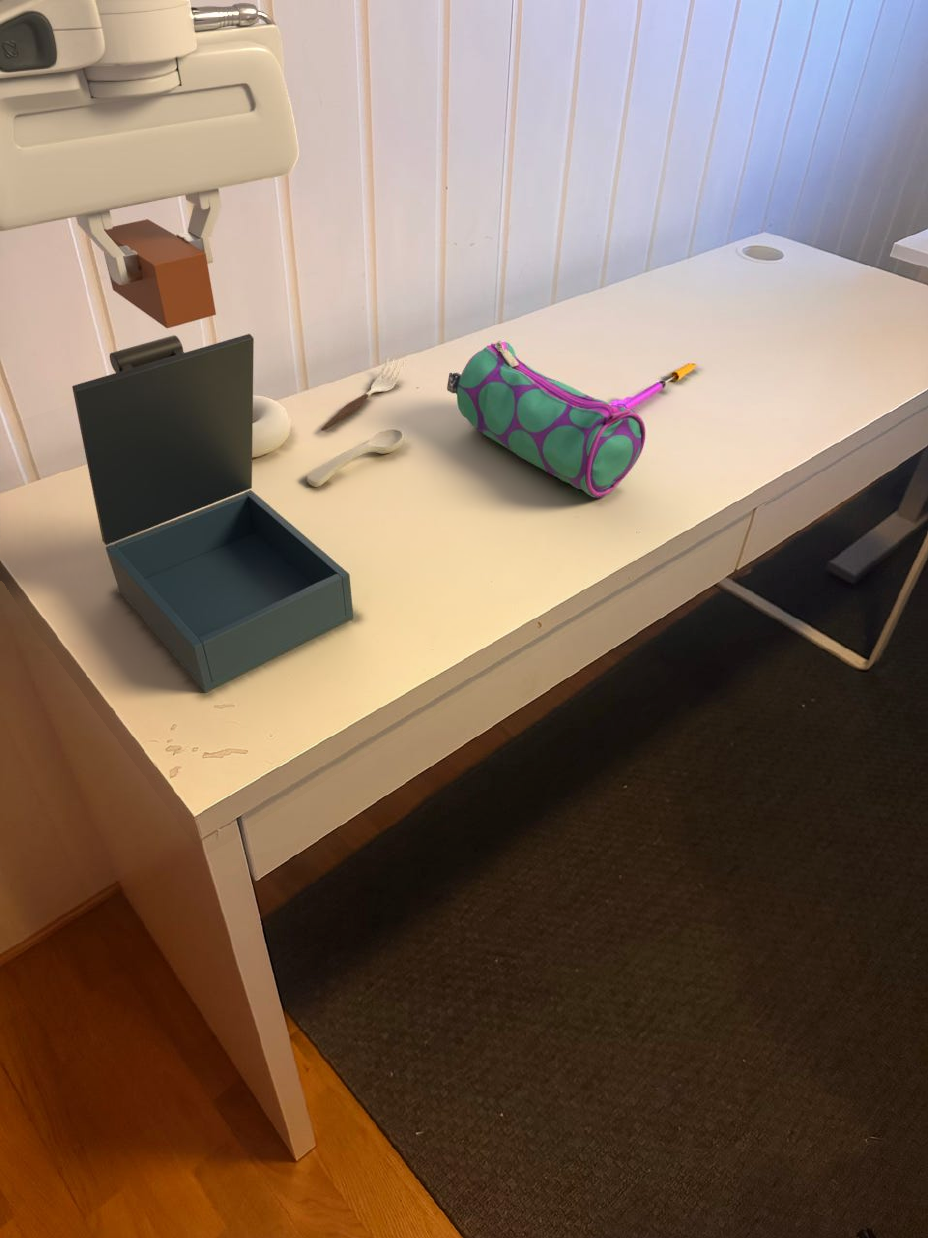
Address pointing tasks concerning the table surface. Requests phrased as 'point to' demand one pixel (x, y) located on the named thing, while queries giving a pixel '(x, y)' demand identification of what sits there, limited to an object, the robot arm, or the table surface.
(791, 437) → the table surface
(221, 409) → the lid
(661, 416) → the table surface
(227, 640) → the teal shallow open box
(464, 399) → the pencil case
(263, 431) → the donut
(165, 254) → the brown rectangular block
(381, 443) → the spoon
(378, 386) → the fork
